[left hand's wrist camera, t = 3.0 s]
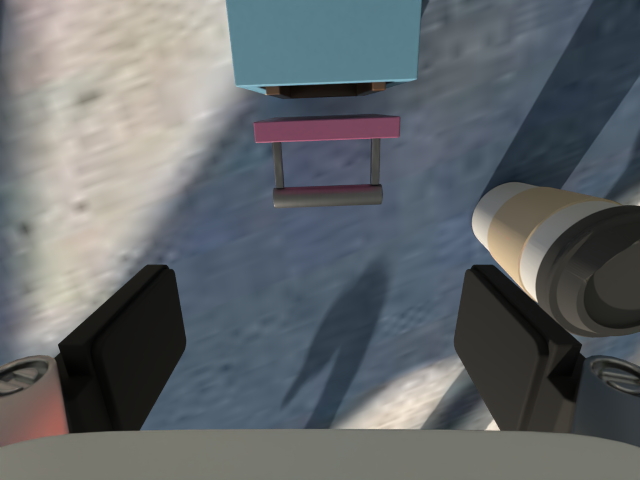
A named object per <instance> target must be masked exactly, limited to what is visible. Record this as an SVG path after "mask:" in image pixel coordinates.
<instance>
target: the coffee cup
mask: <svg viewBox="0 0 640 480" xmlns="http://www.w3.org/2000/svg"><path fill="white" fill-rule="evenodd" d="M472 227H473V231H474V234H475V236H476V237H477V238H478V240H479V241H480V242H481V243H482V244H483V245H484V246H485V247H486V248H487V249H488V250H489V251H490V253H491V255H492V256H493V258H494V259H495V260H496V261H497V262H498V263H499V264H500V265H501V266H502V268H503V269H504V270H505V271H506V272H507V273H508V274H509V275H510V276H511V277H512V278H513V279H514V280H515V281H516V283H517V284H518V285H519V286H520V287H521V288H522V289H523V290H524V291H525V292H526V293H527V294H528V295H529V296H530V297H531V298H532V299H533V300H535V301H536V302H538V304H539V306H540V307H541V308H542V309H543V310H544V311H545V312H546V313H547V314H549V315H550V316H551V317H552V318H553V319H554V320H555V321H556V322H557V323H559V324H560V325H561V326H562V327H563V328H564V329H565V330H566V331H568V332H570V333H572V334H575V335H578V336H583V337H608V336H623V335H629V334H633V333H637V332H640V206H634V205H625V206H624V205H622V204H620V203H618V202H615V201H612V200H608V199H603V198H598V197H593V196H589V195H584V194H579V193H575V192H570V191H565V190H560V189H556V188H551V187H538V186H534V185H529V184H525V183H520V182H509V183H505V184H502V185H499V186H497V187H495V188H493V189H492V190H490V191H489V192H488V193H486V194H485V195H484V196H483V197H482V198H481V200H480V201H479V203H478V204H477V206H476V208H475V210H474V213H473V218H472Z"/></svg>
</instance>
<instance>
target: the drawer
mask: <svg viewBox="0 0 640 480" xmlns="http://www.w3.org/2000/svg"><path fill="white" fill-rule="evenodd" d="M385 89H386V82H365V83H339V84H313V85H288V86H266V94H267V95H270V96H274V97H277V98H281V99H294V98H319V97H345V96H365V95H369V94H372V93H376V92H380V91H383V90H385ZM254 132H255V142H256V143H265V142H272V148H273V160H274V172H275V184H276V188H274V189H273V202H274V207H275V208H294V207H322V206H349V205H377V204H381V203H382V198H383V191H382V185H381V184H379V169H380V138H397V137H399V135H400V117H399V116H389V115H379V114H361V115H334V116H308V117H282V118H271V119H266V120H262V121H257V122H254ZM344 139H371V170H370V183H371V184H364V185H337V186H310V187H284V176H283V162H282V149H281V142H291V141H318V140H344Z"/></svg>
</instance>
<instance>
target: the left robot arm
mask: <svg viewBox="0 0 640 480" xmlns="http://www.w3.org/2000/svg"><path fill="white" fill-rule="evenodd" d="M58 346H59V349H60V353H59V354H58V355H57V356H56V357H55V358H52V357H50V356H46V355H36V356H28V357H25V358H21V359H17V360H14V361H12V362H9V363H7V364H5V365H2V366H1V367H0V480H640V367H639V366H638V365H635V364H633V363H631V362H628V361H626V360H623V359H619V358H615V357H612V356H604V355H594V356H590V357H588V358H585V357H584V356H583V355H582V354H581V353H580V349H581V346H582V344H581V343H580V342H579V341H577V340H576V339H575V338H574V337H573V336H572V335H571V334H570V333H569V332H567V331H566V330H565V329H564V328H563V327H562V326H561V325H560V324H559V323H557V322H556V321H555V320H554V319H553V318H552V317H551V316H550V315H549V314H547V313H546V312H545V311H544V310H543V309H542V308H541V307H540V306H539V305H537V304H536V303H535V302H534V301H533V300H532V299H531V298H530V297H529V296H527V295H526V294H525V293H524V292H523V291H522V290H521V289H520V288H519V287H517V286H516V285H515V284H514V283H513V282H512V281H511V280H510V279H509V278H507V277H506V276H505V275H504V274H503V273H502V272H501V271H500V270H499V269H497V268H496V267H495V266H494V265H473V266H472V267H471V269H467V270H466V272H465V277H464V283H463V289H462V295H461V300H460V306H459V312H458V318H457V324H456V330H455V336H454V347H455V350H456V352H457V354H458V356H459V358H460V359H461V361H462V363H463V365H464V366H465V368H466V370H467V372H468V374H469V375H470V377H471V379H472V381H473V382H474V384H475V386H476V388H477V390H478V391H479V393H480V395H481V397H482V399H483V400H484V402H485V404H486V406H487V407H488V409H489V411H490V413H491V415H492V416H493V418H494V420H495V422H496V423H497V425H498V427H499V429H500V431H486V430H420V429H220V430H154V431H140V429H141V427H142V425H143V423H144V422H145V420H146V418H147V416H148V415H149V413H150V411H151V409H152V407H153V406H154V404H155V402H156V400H157V399H158V397H159V395H160V393H161V391H162V390H163V388H164V386H165V384H166V382H167V381H168V379H169V377H170V375H171V374H172V372H173V370H174V368H175V366H176V365H177V363H178V361H179V359H180V358H181V356H182V354H183V352H184V350H185V347H186V336H185V330H184V324H183V318H182V312H181V306H180V300H179V295H178V289H177V283H176V277H175V272H174V270H173V269H169V267H168V266H167V265H146V266H145V267H144V268H143V269H141V270H140V271H139V272H138V273H137V274H136V275H135V276H134V277H133V278H131V279H130V280H129V281H128V282H127V283H126V284H125V285H124V286H123V287H121V288H120V289H119V290H118V291H117V292H116V293H115V294H114V295H113V296H111V297H110V298H109V299H108V300H107V301H106V302H105V303H104V304H103V305H101V306H100V307H99V308H98V309H97V310H96V311H95V312H94V313H93V314H91V315H90V316H89V317H88V318H87V319H86V320H85V321H84V322H83V323H81V324H80V325H79V326H78V327H77V328H76V329H75V330H74V331H73V332H71V333H70V334H69V335H68V336H67V337H66V338H65V339H64V340H63V341H61V342H60V343H59V344H58Z"/></svg>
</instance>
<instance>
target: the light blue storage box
mask: <svg viewBox="0 0 640 480" xmlns="http://www.w3.org/2000/svg"><path fill="white" fill-rule="evenodd" d="M226 6H227V14H228V23H229V32H230V41H231V49H232V58H233V67H234V76H235V85H236V86H237V87H241V88H245V89H248V90H252V91H256V92H259V93H263V94H265V95H267V94H266V86H288V85H313V84H339V83H365V82H386V88H389V87H392V86H395V85H399V84H402V83H405V82H409V81H413V80H416V79H417V74H418V57H419V40H420V24H421V7H422V0H226Z"/></svg>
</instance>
